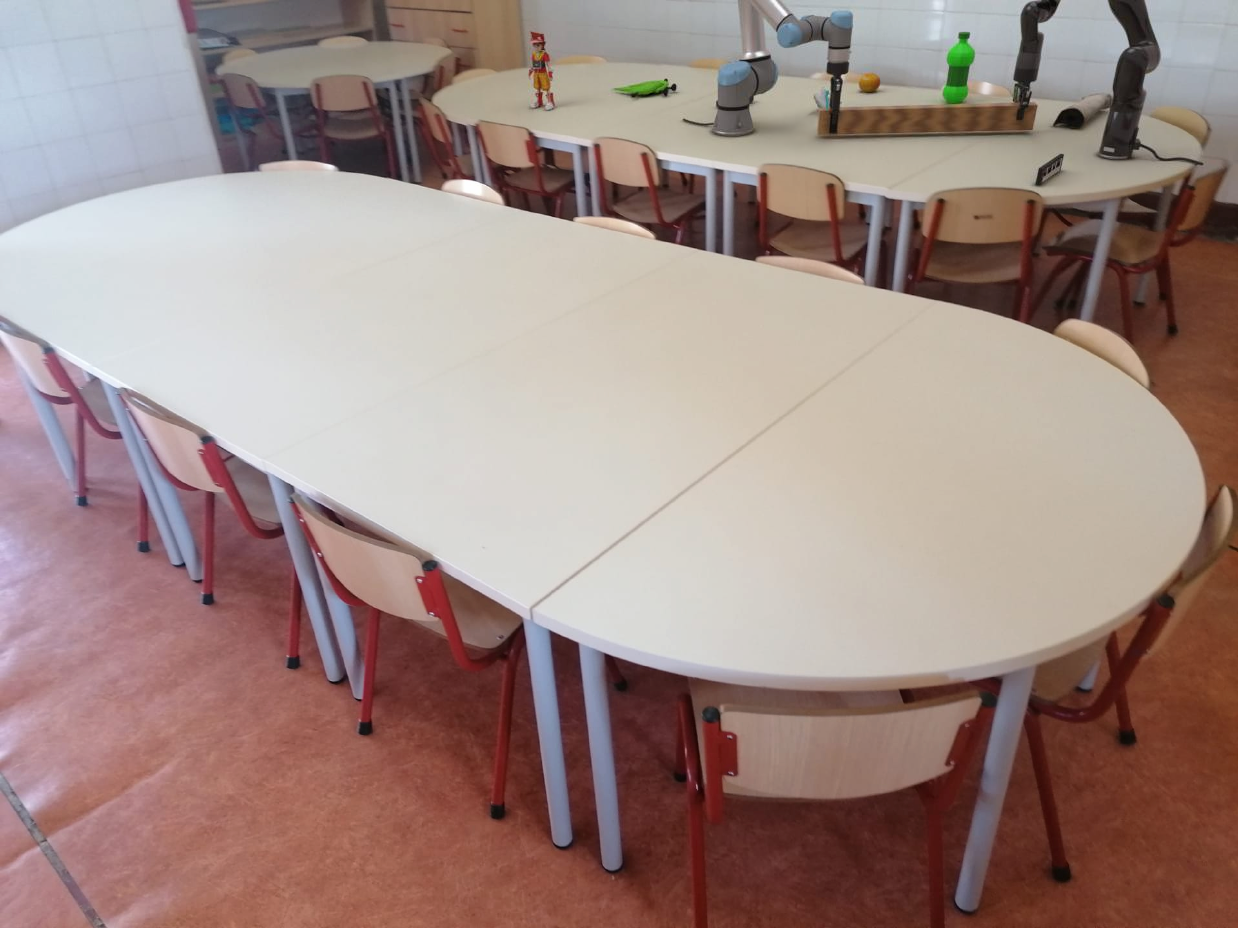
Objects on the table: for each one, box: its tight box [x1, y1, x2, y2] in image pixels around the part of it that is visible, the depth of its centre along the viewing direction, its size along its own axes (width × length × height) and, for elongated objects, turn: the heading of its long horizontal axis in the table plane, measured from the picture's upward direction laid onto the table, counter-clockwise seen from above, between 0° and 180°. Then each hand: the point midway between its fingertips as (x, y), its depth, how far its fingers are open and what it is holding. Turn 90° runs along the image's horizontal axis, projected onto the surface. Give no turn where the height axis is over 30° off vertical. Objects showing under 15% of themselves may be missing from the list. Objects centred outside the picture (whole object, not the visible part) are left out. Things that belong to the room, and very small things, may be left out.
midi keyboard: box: [1035, 153, 1065, 186], centre depth 273 cm, size 18×1×5 cm, turn 138°
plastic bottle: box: [942, 31, 976, 104], centre depth 348 cm, size 10×10×25 cm
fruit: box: [858, 72, 881, 93], centre depth 374 cm, size 8×8×8 cm
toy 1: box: [527, 31, 556, 111], centre depth 374 cm, size 12×9×30 cm
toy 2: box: [612, 78, 677, 99], centre depth 396 cm, size 28×5×30 cm
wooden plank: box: [816, 101, 1039, 136], centre depth 317 cm, size 74×4×8 cm, turn 83°
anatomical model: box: [813, 86, 843, 109], centre depth 348 cm, size 15×10×10 cm
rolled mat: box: [1052, 92, 1113, 129], centre depth 324 cm, size 30×9×10 cm
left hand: (832, 130), depth 322 cm, fingers open, 4 cm apart
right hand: (1017, 118), depth 313 cm, fingers closed on wooden plank, 4 cm apart
